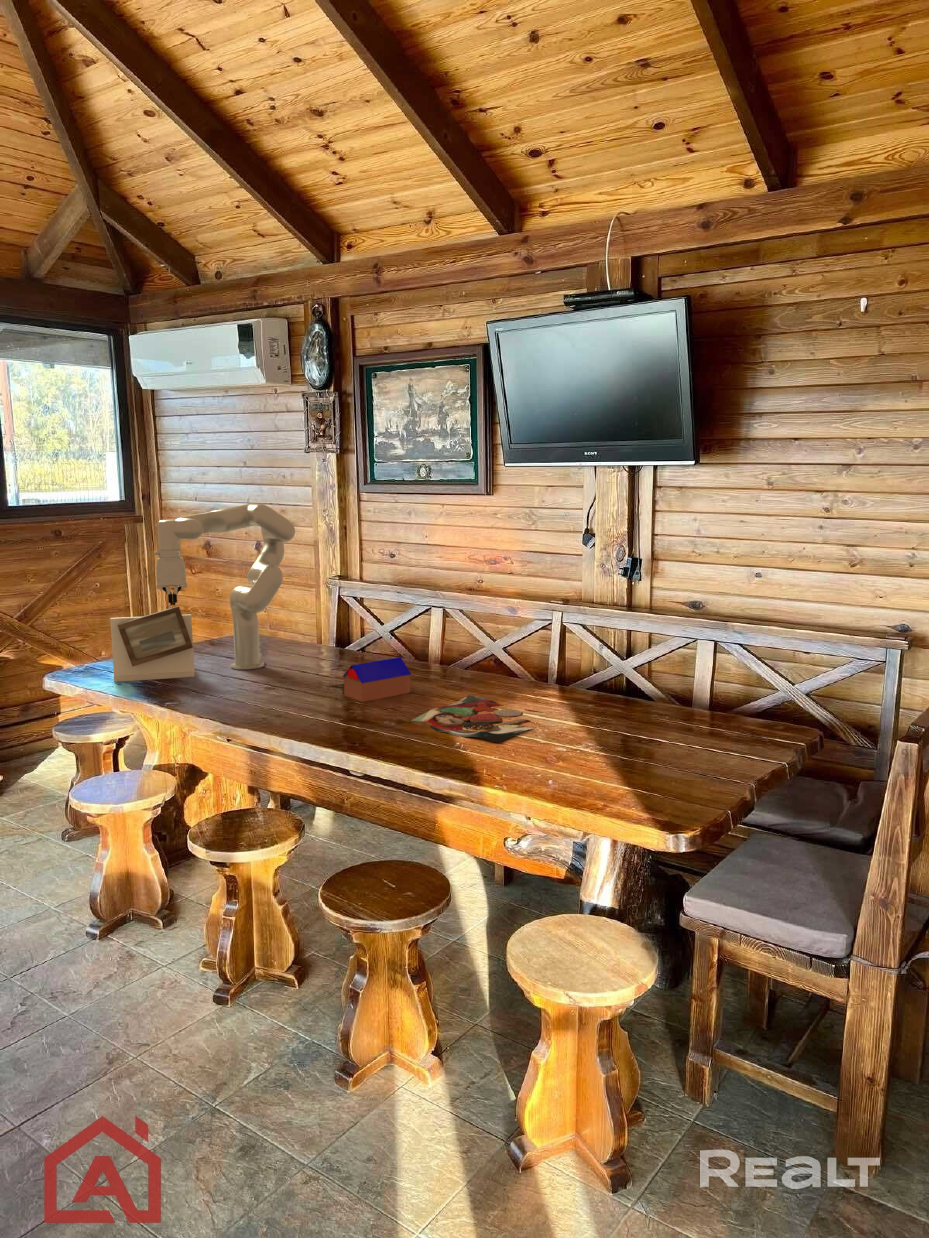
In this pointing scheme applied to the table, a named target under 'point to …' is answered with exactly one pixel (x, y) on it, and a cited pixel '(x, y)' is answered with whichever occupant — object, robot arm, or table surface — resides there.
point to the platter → (475, 719)
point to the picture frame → (155, 636)
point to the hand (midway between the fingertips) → (172, 604)
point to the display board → (154, 669)
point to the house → (377, 680)
